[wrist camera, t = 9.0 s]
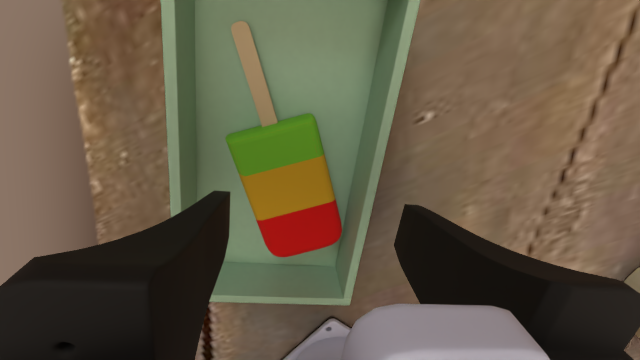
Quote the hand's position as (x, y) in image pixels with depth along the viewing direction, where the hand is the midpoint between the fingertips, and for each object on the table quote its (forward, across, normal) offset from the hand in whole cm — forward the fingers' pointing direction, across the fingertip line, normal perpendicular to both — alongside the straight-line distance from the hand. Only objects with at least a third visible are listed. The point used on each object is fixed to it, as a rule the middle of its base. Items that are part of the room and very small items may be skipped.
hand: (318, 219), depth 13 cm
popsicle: (+9, +2, 0) cm, 9 cm away
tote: (+9, +2, 0) cm, 9 cm away
